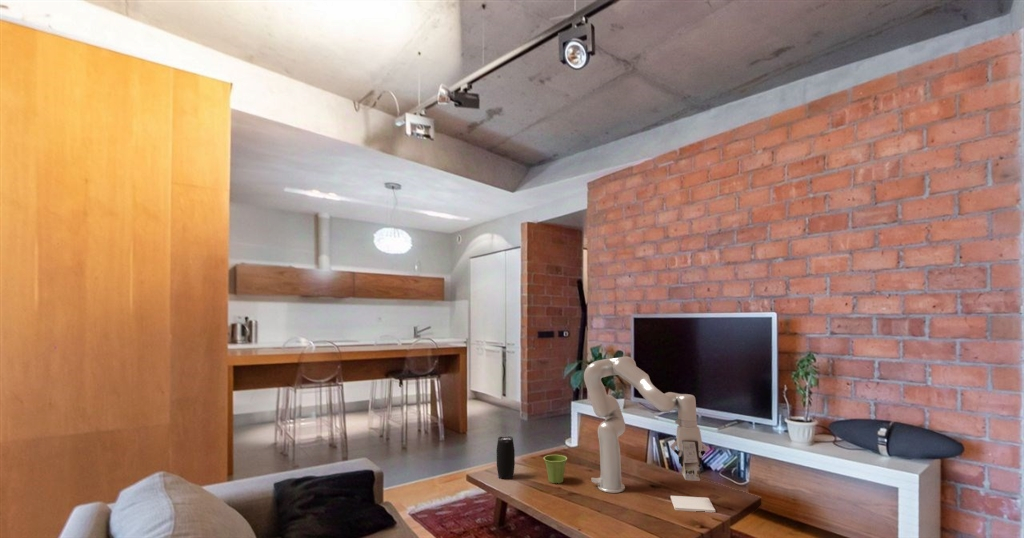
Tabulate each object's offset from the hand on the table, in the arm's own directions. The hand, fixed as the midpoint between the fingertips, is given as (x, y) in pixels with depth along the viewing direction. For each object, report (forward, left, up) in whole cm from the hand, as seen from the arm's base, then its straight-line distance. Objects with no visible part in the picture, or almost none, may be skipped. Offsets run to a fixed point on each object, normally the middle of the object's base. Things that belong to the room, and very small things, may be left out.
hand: (690, 465), depth 198 cm
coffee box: (0, 0, -5) cm, 5 cm away
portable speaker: (-87, +21, -17) cm, 91 cm away
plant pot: (-61, +19, -17) cm, 66 cm away
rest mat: (0, 0, -16) cm, 16 cm away
